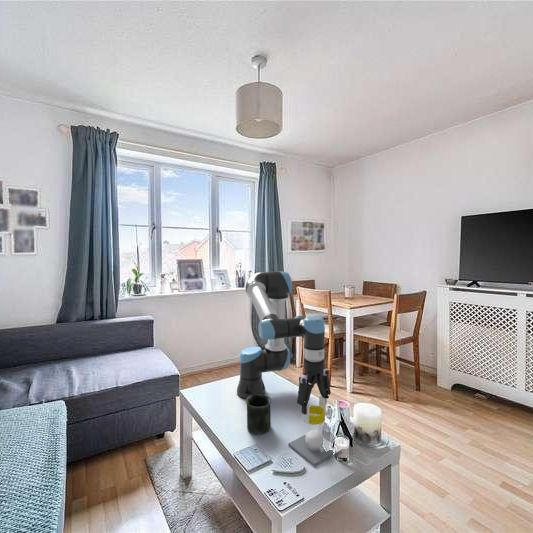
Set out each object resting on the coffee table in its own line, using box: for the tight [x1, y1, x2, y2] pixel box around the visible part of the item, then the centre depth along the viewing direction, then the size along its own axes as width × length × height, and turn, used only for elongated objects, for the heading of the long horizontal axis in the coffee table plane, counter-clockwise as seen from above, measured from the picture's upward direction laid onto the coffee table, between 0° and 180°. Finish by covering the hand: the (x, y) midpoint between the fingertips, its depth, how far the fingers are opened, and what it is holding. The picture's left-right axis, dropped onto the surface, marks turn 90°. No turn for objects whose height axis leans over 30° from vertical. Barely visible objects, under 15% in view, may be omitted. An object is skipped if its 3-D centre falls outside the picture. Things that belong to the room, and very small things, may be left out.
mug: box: [245, 394, 272, 435], centre depth 128 cm, size 11×15×12 cm
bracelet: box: [308, 404, 326, 426], centre depth 112 cm, size 7×8×3 cm
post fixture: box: [287, 429, 334, 468], centre depth 113 cm, size 14×14×5 cm
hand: (314, 417), depth 112 cm, fingers closed on bracelet, 8 cm apart
